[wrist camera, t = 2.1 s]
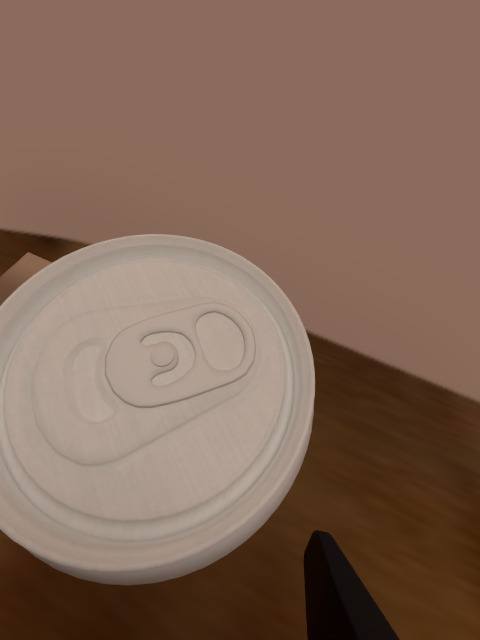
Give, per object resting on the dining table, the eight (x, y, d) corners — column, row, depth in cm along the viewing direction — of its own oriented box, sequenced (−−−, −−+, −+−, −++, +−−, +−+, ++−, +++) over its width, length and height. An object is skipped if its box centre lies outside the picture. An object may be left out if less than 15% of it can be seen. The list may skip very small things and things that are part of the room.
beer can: (125, 413, 18) (-69, 251, 5) (215, 381, 20) (253, 201, 7) (147, 520, 15) (-123, 790, 2) (248, 473, 17) (414, 475, 4)
